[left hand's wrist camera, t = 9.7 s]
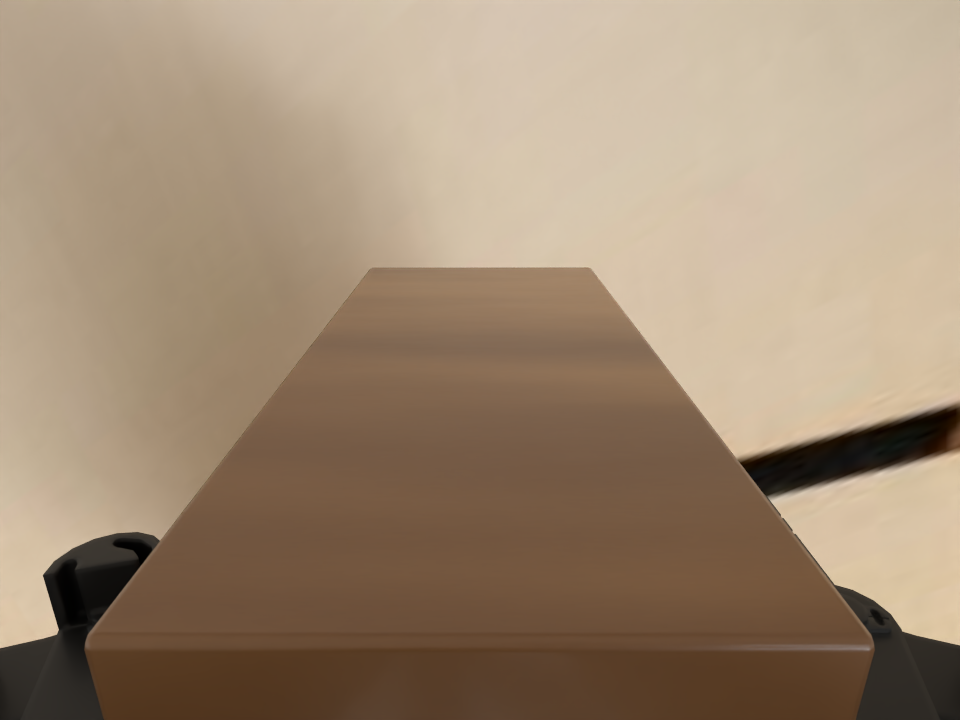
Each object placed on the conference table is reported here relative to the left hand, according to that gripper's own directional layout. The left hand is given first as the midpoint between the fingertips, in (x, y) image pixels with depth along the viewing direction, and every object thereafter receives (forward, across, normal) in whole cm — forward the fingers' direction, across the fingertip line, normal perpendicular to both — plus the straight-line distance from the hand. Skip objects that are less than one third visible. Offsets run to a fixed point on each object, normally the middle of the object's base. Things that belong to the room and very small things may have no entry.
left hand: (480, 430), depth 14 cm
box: (+3, 0, -7) cm, 8 cm away
